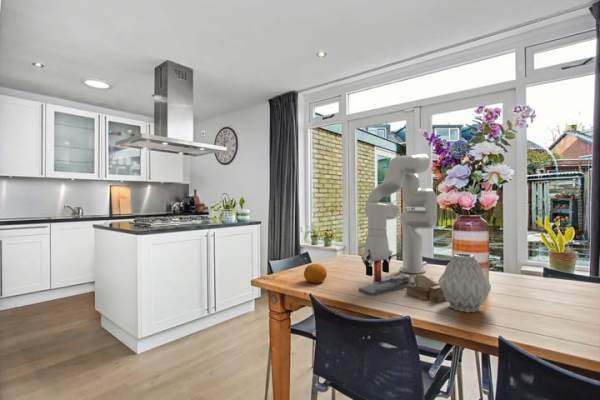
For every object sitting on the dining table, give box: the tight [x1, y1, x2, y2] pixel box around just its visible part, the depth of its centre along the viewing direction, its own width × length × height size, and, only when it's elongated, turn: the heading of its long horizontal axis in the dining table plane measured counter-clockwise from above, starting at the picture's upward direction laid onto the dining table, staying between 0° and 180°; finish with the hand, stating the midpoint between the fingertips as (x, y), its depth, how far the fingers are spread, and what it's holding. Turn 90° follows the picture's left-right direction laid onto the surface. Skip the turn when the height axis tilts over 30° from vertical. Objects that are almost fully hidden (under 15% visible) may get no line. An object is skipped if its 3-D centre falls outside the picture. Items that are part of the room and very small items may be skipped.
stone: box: [413, 273, 437, 290], centre depth 125 cm, size 10×7×10 cm
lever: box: [373, 260, 411, 285], centre depth 135 cm, size 21×6×11 cm, turn 124°
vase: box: [437, 253, 492, 313], centre depth 109 cm, size 16×16×18 cm
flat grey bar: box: [358, 277, 415, 297], centre depth 134 cm, size 26×8×2 cm, turn 124°
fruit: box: [303, 263, 328, 284], centre depth 145 cm, size 10×10×8 cm
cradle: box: [405, 281, 446, 303], centre depth 124 cm, size 13×12×5 cm
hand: (377, 273), depth 131 cm, fingers open, 9 cm apart
